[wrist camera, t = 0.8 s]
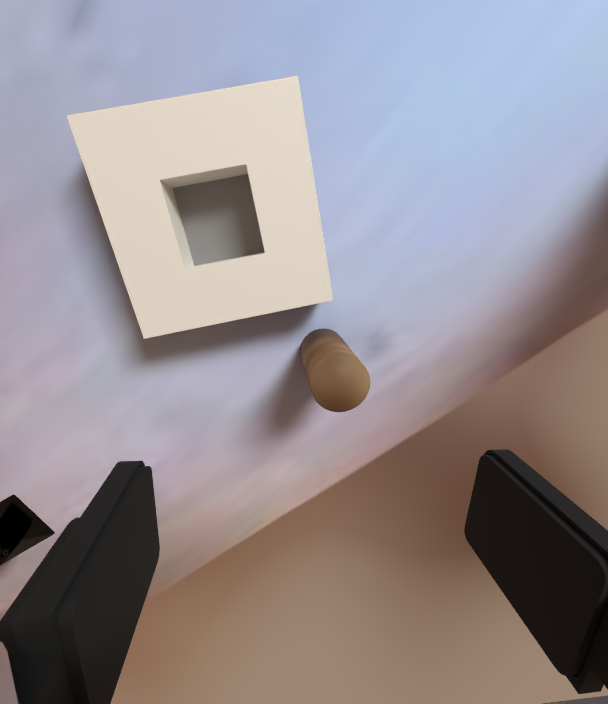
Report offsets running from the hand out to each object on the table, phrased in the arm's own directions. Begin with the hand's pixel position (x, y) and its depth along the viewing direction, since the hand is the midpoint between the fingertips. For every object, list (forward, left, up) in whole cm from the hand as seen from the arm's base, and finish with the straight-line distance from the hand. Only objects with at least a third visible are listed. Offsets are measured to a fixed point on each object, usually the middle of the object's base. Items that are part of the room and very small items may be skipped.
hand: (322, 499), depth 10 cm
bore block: (+3, -9, -21) cm, 23 cm away
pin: (-3, +3, -21) cm, 21 cm away
